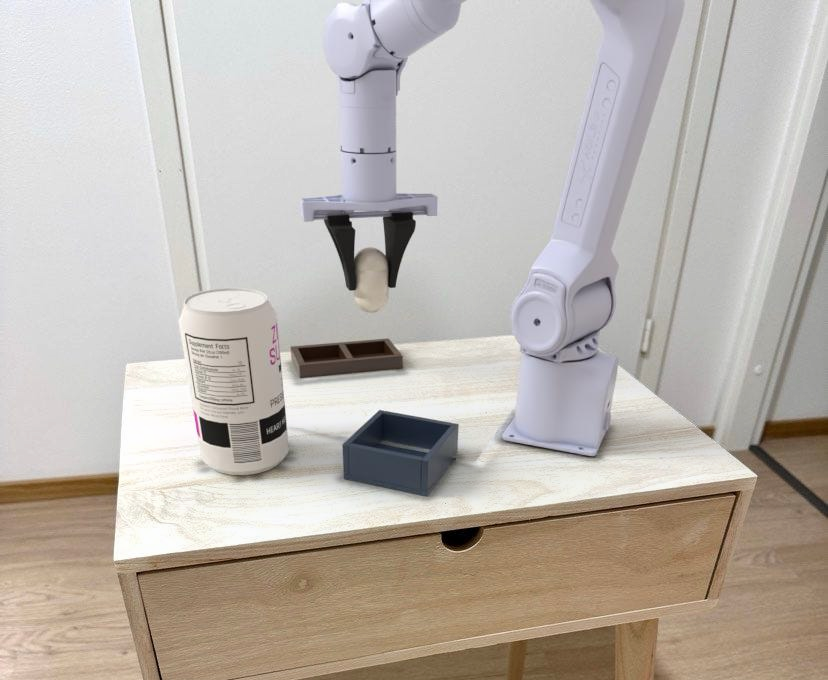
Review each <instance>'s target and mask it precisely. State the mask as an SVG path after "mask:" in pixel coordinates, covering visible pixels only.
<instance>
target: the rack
mask: <svg viewBox="0 0 828 680" xmlns="http://www.w3.org/2000/svg"><path fill="white" fill-rule="evenodd" d="M401 353H402V352H400V351H399V350H398V348H397V347H396V346H395V345H394V343H393V342H392V341H391V339H390V338H389V337H388V338H377V339H376V338H375V339H366V340H365V339H364V340H353V341H351V340H350V341H340V342H329V343H317V344H315V343H314V344H305V345H294V346H293V345H292V346H290V358H291V361H292V363H293V366H294V368H295V370H296V373H297V375H298V377H299V379H307V378H319V377H328V376H339V375H349V374H361V373H362V374H363V373H370V372H381V371H393V370H394V371H395V370H402V369H403V367H404V365H403V364H404V361H403V360H404V358H403V357H404V356H403V355H402V354H401Z"/></svg>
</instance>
